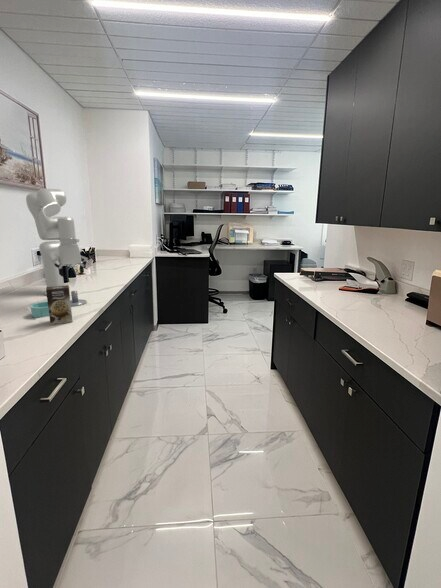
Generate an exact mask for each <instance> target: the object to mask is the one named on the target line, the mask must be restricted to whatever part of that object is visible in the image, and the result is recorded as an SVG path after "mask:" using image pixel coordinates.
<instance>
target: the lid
mask: <svg viewBox="0 0 441 588" xmlns="http://www.w3.org/2000/svg"><path fill="white" fill-rule="evenodd" d="M70 294H71V295H70V297H71V299H70V302H71V308H74V306H75V307H81V305H82V306H85V305H84V304H86V303H88V300H86V299H79V295H78V291H77V290H71V291H70Z"/></svg>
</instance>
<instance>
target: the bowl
mask: <svg viewBox="0 0 441 588" xmlns="http://www.w3.org/2000/svg"><path fill="white" fill-rule="evenodd" d="M29 307H30V313H31V317H32V318H34V319H36V318H46V317H49V309H48V301H40V302H35V303H33V304H29Z"/></svg>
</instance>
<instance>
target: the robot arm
mask: <svg viewBox="0 0 441 588" xmlns="http://www.w3.org/2000/svg"><path fill="white" fill-rule="evenodd" d="M25 203H26V206H27V208H28V211H29V212H30V214H31V215H32V218H33V219H34V224H35V227H36V230H37V234H38V237H39V238H40V240H43V241H44V242H41V243H40V244H39V247H38V248H39V249H38V250H39V252H40V256H41V259H42V265H43V270H44V271H43V272H44V278H45V285H46V287H54V286H65V282H64V270H63V266H66V265H79V273H80V275H84V273H85V270H84V269H85V268H84V267H85V266H86V265H87V262H88V260H89V258H88V257H86V256H84V255H81V252H80V251H81V250H80V247H79V245H78V244H77V243H79V242H80V239H77V238H76V229H75V228H76V227H75V220H74V219H73V217H71V216H70V217H69V216H57V215H58V214H59V213H60V212H61V209H62V207H63V206H65V204H67V196H66V193H65V192H64V191H63V190H62V189H57V188H56V189H55V188H41V189H39V190H37V192H33V193H32V192H31V193H28V194H27V195H26V198H25ZM82 259H83V261H82ZM44 295H45V296H47V293H46V291H45V292H44Z"/></svg>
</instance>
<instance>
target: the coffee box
mask: <svg viewBox="0 0 441 588" xmlns="http://www.w3.org/2000/svg"><path fill="white" fill-rule="evenodd" d="M69 286H70V285H69V284H68V285H64V286H54V287H47V286H46V287H45V292H46V293H47V295H46V300H47V301H48V309H49V316H48V317H49V324H50V326H52V325H61V324H67V323H68V324H69V323H73V322H74V320H73V312H72V307H71V302H70V300H71V295H70V294H71V292H70V287H69Z"/></svg>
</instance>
